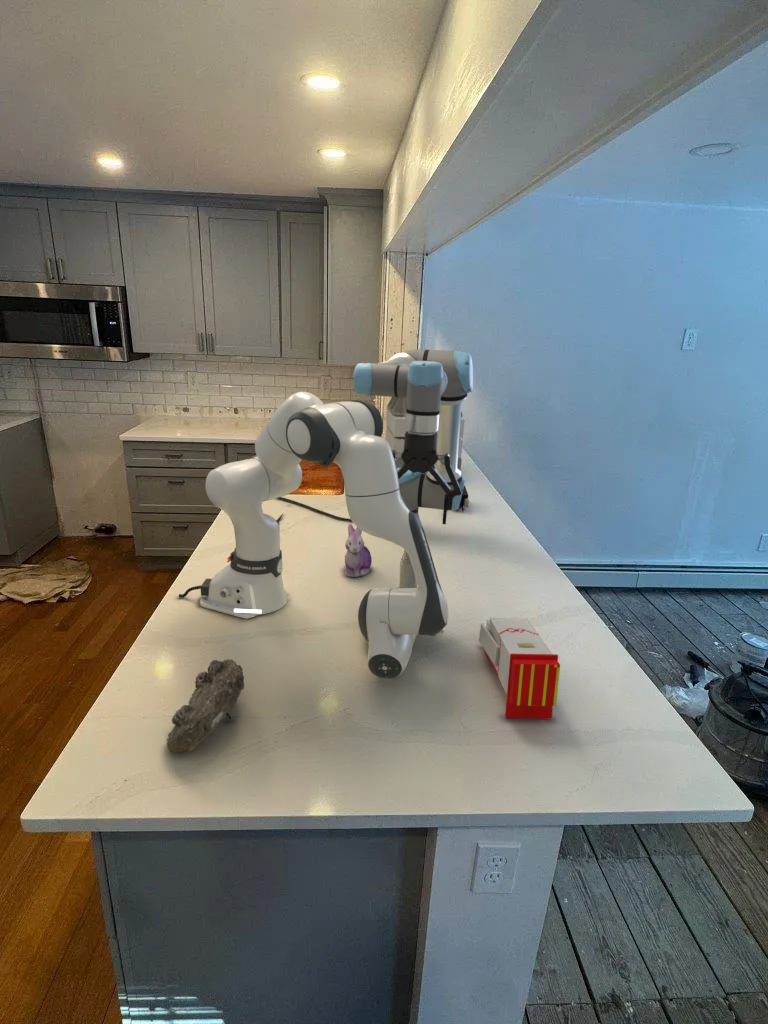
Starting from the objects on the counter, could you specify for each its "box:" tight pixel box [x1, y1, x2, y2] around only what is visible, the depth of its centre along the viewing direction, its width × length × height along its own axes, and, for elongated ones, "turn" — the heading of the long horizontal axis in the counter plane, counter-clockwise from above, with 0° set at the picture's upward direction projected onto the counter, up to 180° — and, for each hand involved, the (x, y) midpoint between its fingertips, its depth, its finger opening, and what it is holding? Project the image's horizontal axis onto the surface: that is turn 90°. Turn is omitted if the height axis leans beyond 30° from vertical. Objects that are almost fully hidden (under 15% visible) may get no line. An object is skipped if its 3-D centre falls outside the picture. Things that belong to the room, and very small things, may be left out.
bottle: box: [398, 549, 418, 588], centre depth 140 cm, size 5×5×22 cm
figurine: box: [343, 523, 373, 578], centre depth 168 cm, size 9×10×15 cm
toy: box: [478, 616, 561, 720], centre depth 122 cm, size 12×13×30 cm
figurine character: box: [455, 485, 470, 512], centre depth 229 cm, size 7×8×15 cm
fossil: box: [166, 658, 245, 754], centre depth 106 cm, size 22×10×15 cm
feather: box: [276, 513, 284, 523], centre depth 210 cm, size 2×28×2 cm
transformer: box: [384, 397, 465, 472], centre depth 268 cm, size 34×33×41 cm
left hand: (407, 599), depth 142 cm, fingers open, 8 cm apart
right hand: (415, 520), depth 135 cm, fingers open, 13 cm apart
